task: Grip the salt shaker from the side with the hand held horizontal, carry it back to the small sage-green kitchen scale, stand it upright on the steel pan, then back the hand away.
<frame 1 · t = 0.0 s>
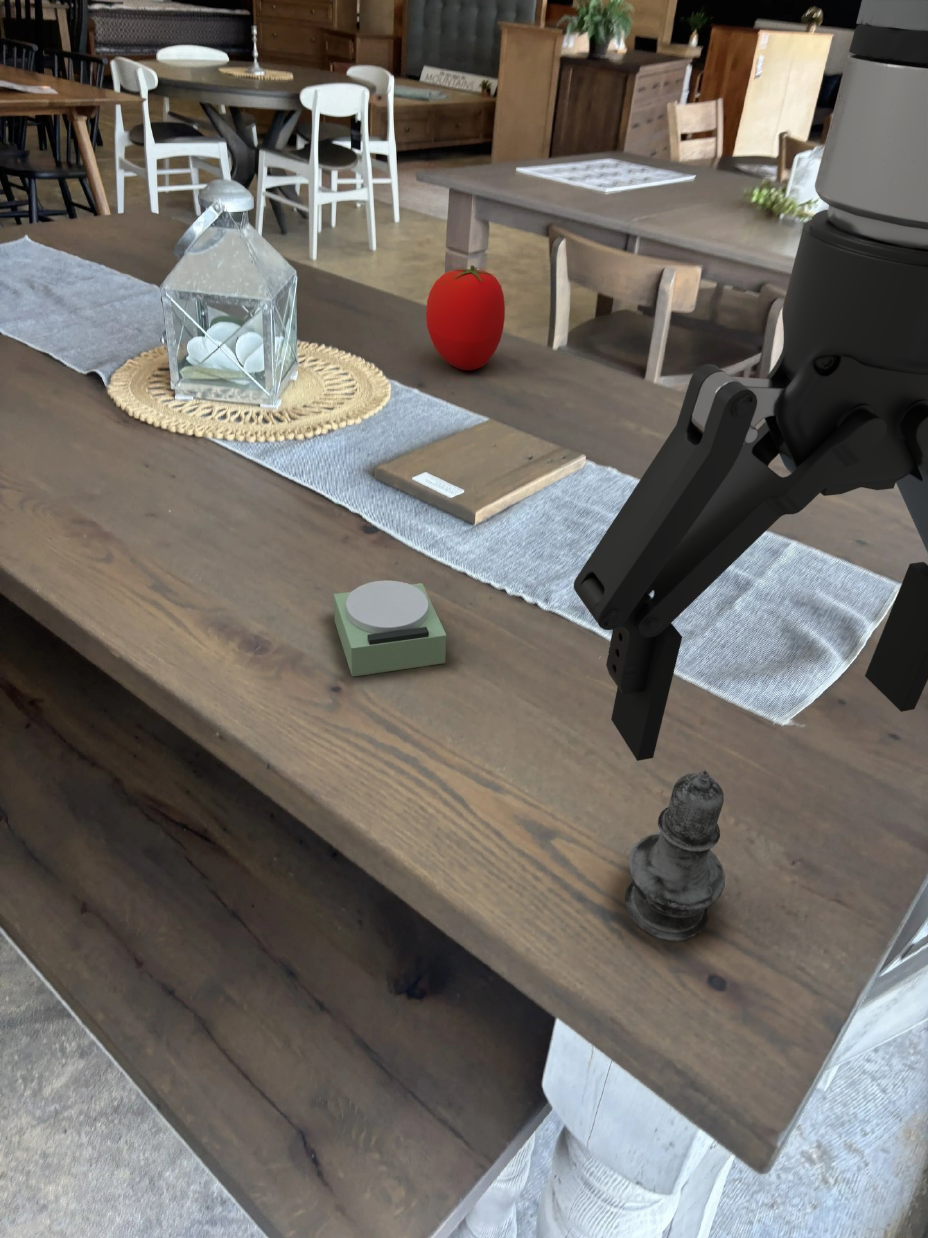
hand: (765, 715, 42), 21 cm above the table, tool pointing down, fingers open, 13 cm apart
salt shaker: (665, 907, 58), on the table
scale: (388, 641, 79), on the table
tomato: (462, 365, 135), on the table
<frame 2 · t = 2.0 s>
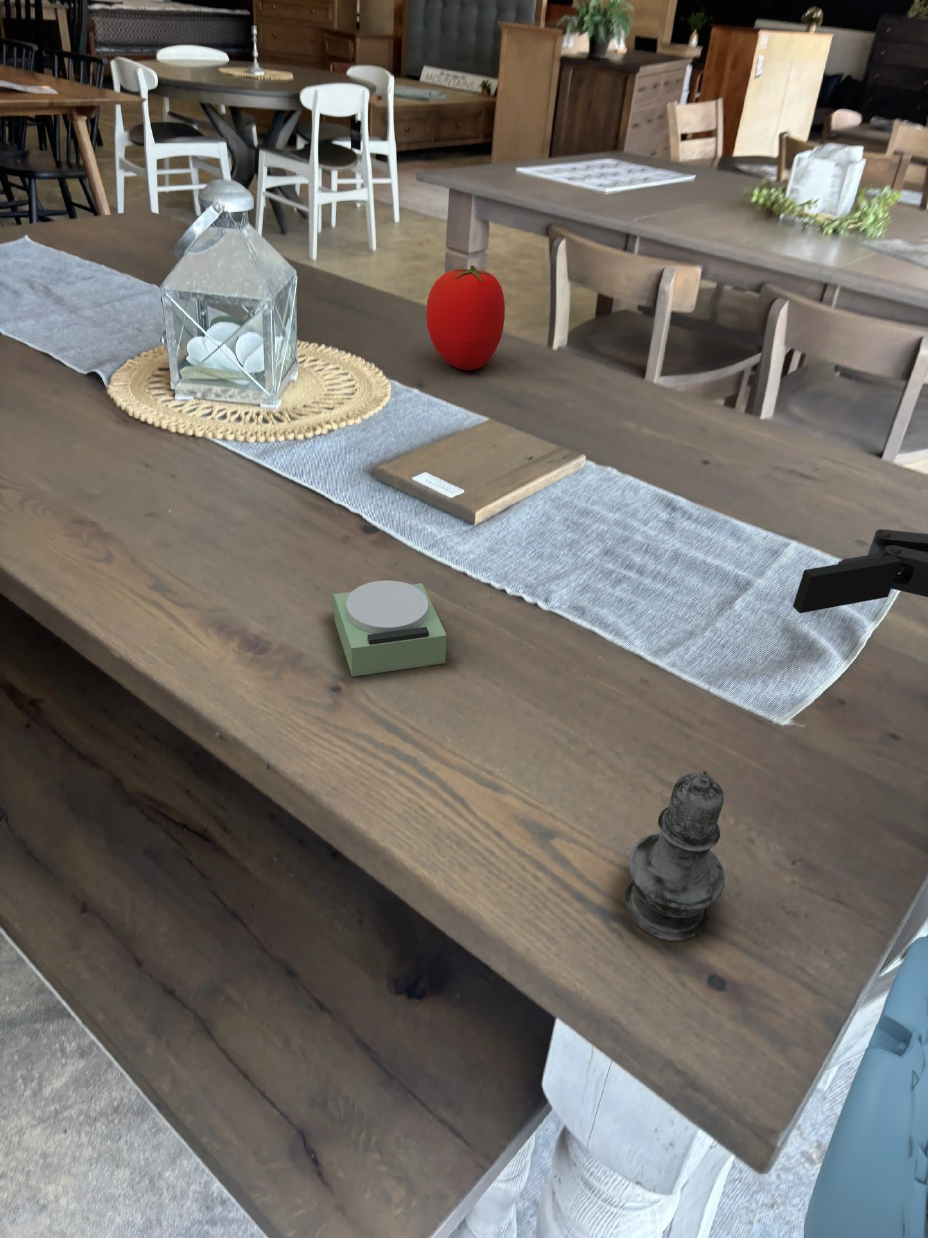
hand: (874, 661, 49), 18 cm above the table, tool horizontal, fingers open, 13 cm apart
nothing on the table moved.
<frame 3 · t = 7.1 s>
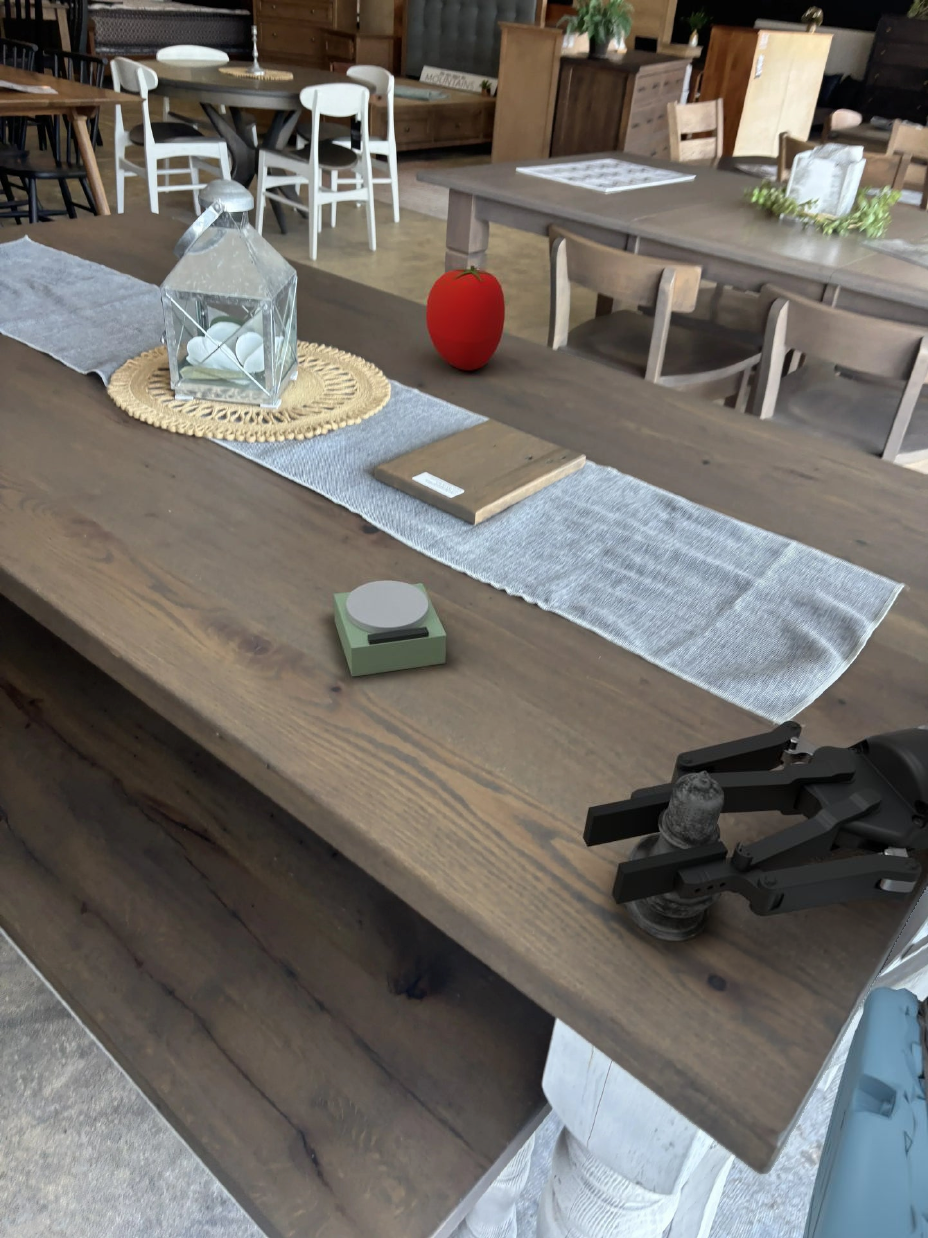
hand: (603, 854, 53), 6 cm above the table, tool horizontal, fingers closed on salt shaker, 4 cm apart
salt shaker: (665, 907, 58), on the table, touching gripper
everything else where it was.
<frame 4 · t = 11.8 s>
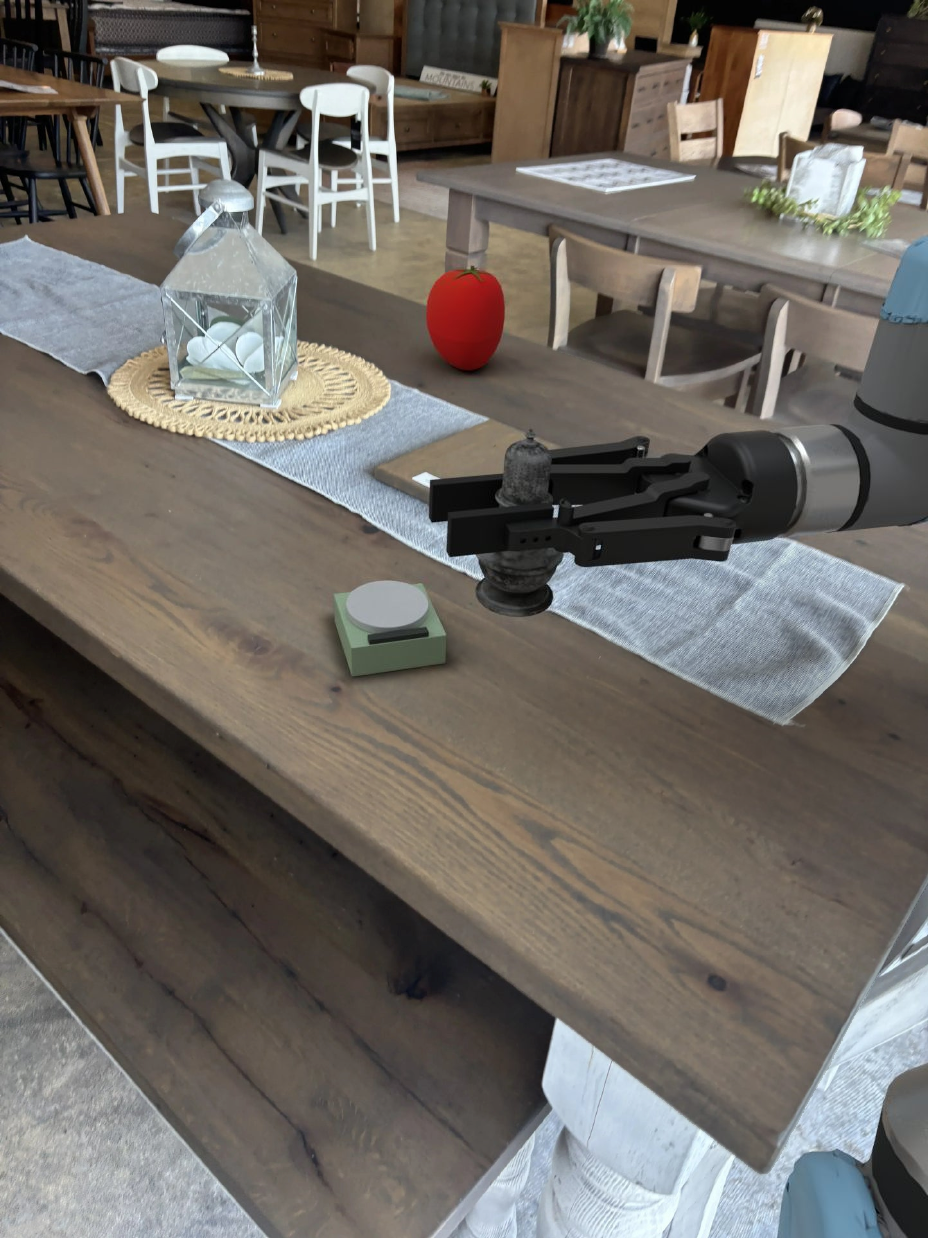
hand: (440, 517, 56), 20 cm above the table, tool horizontal, fingers closed on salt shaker, 4 cm apart
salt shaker: (514, 596, 61), point 13 cm above the table, touching gripper
everything else where it was.
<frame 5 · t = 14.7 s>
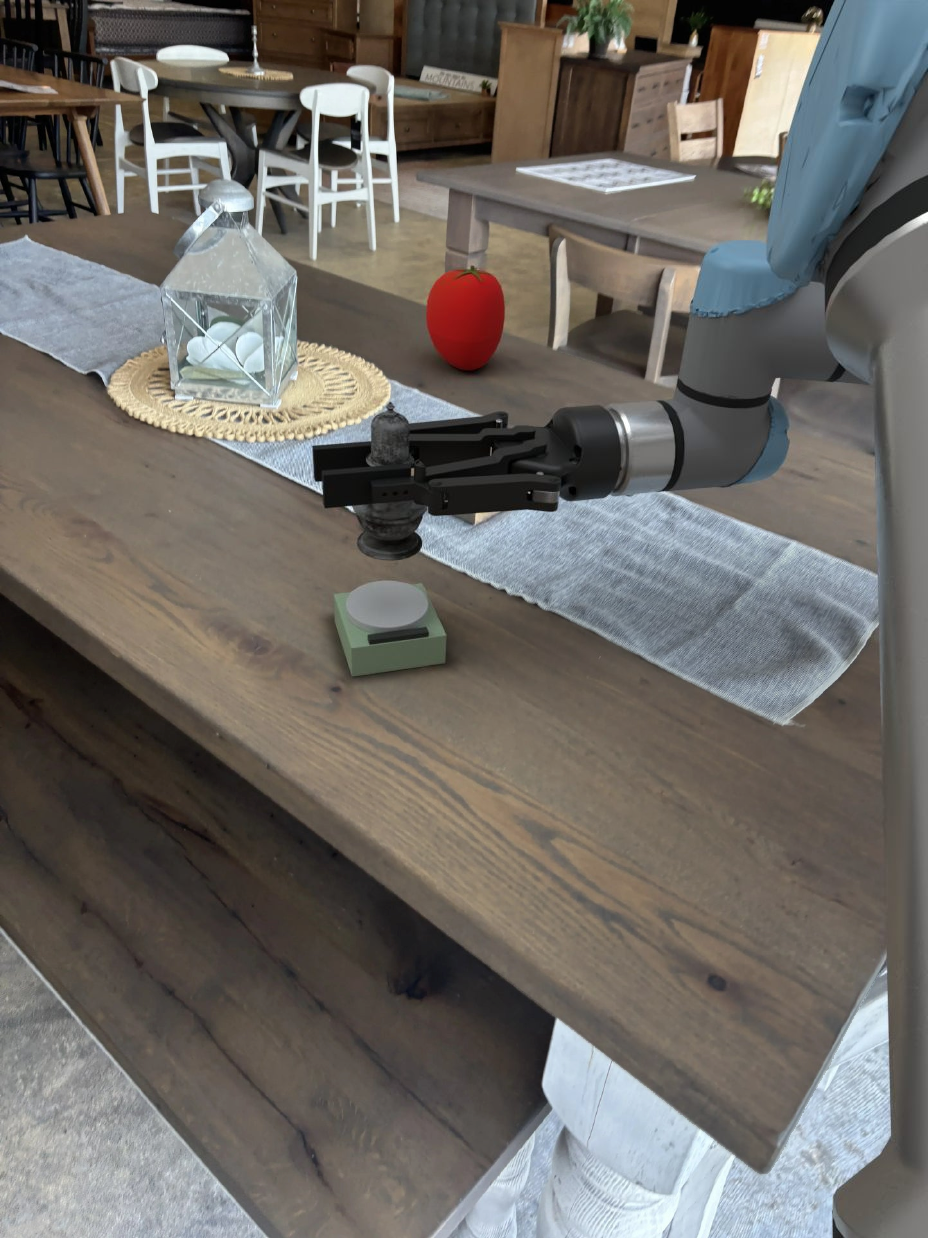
hand: (319, 476, 68), 16 cm above the table, tool horizontal, fingers closed on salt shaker, 4 cm apart
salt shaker: (389, 545, 73), point 10 cm above the table, touching gripper
everything else where it was.
when the fingers open (10 cm above the table, at t = 16.6 s): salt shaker stays where it is, resting on scale.
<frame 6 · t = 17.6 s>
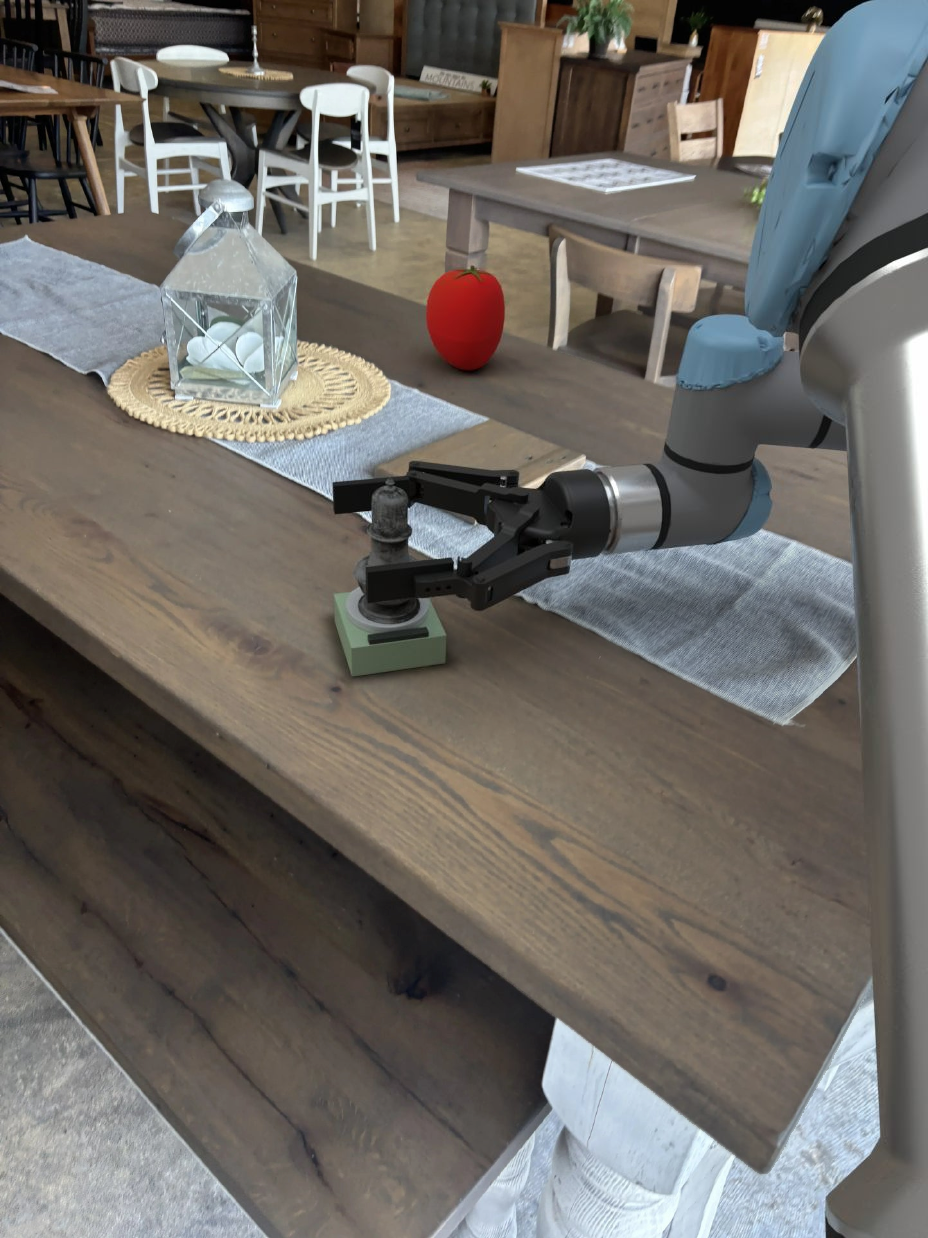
hand: (348, 538, 72), 11 cm above the table, tool horizontal, fingers open, 13 cm apart
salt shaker: (389, 607, 77), point 4 cm above the table, touching scale
everything else where it was.
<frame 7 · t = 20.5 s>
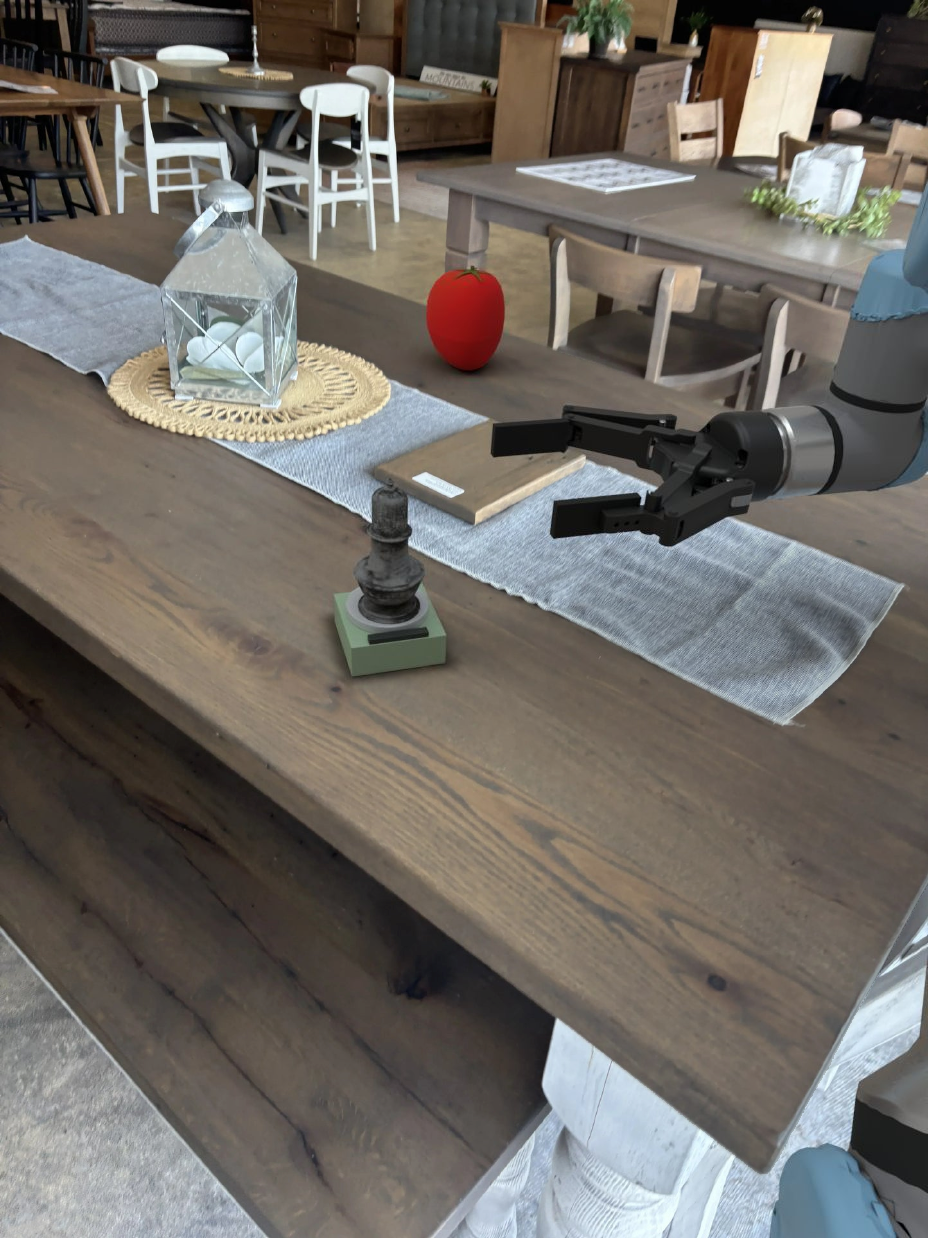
hand: (520, 477, 70), 16 cm above the table, tool horizontal, fingers open, 13 cm apart
nothing on the table moved.
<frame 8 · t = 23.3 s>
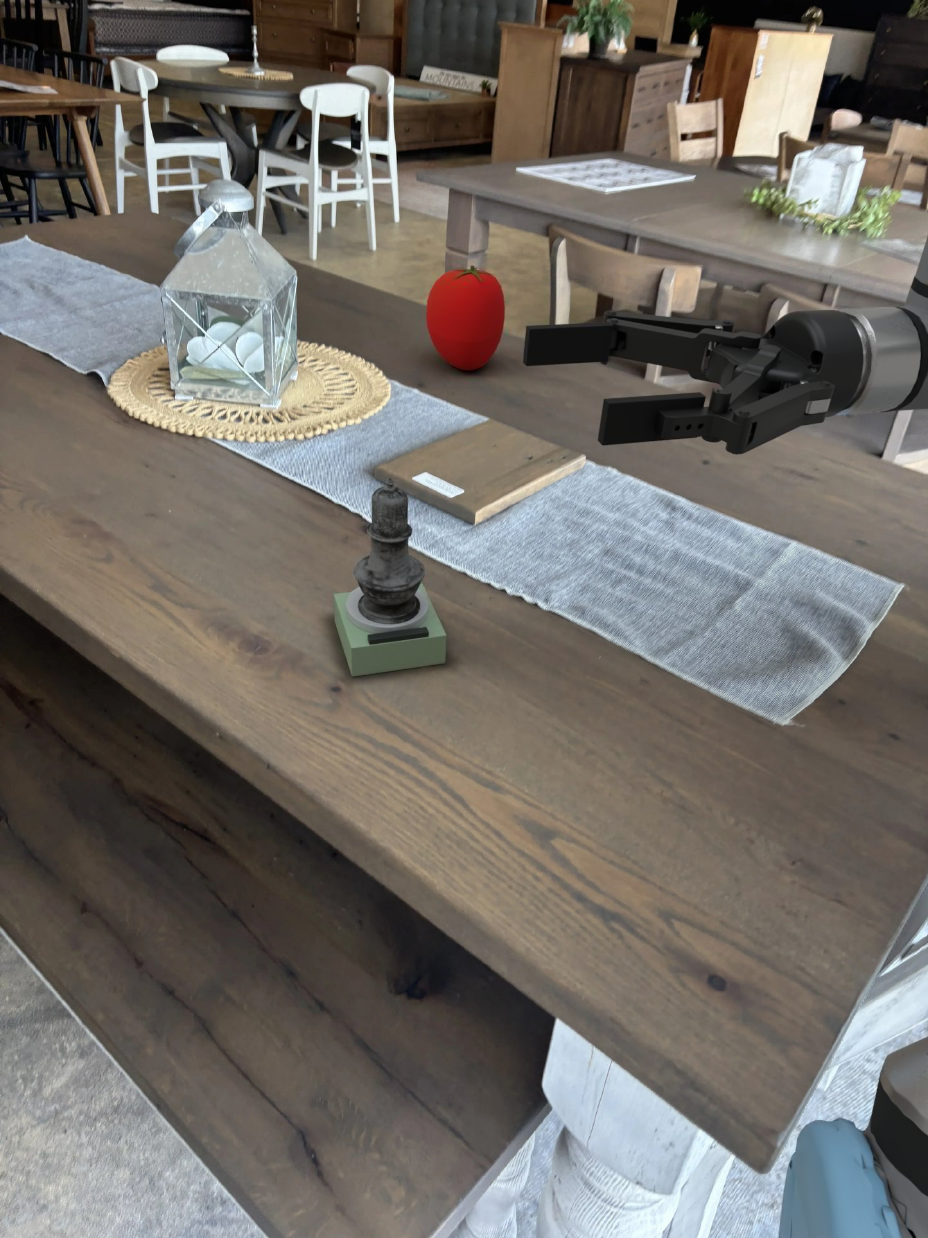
hand: (560, 380, 60), 26 cm above the table, tool horizontal, fingers open, 13 cm apart
nothing on the table moved.
at the end: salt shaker inside the target area on the scale (0.0 cm from its centre), point 3.6 cm above the scale's base; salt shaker tilted 0°; the gripper is holding nothing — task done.
